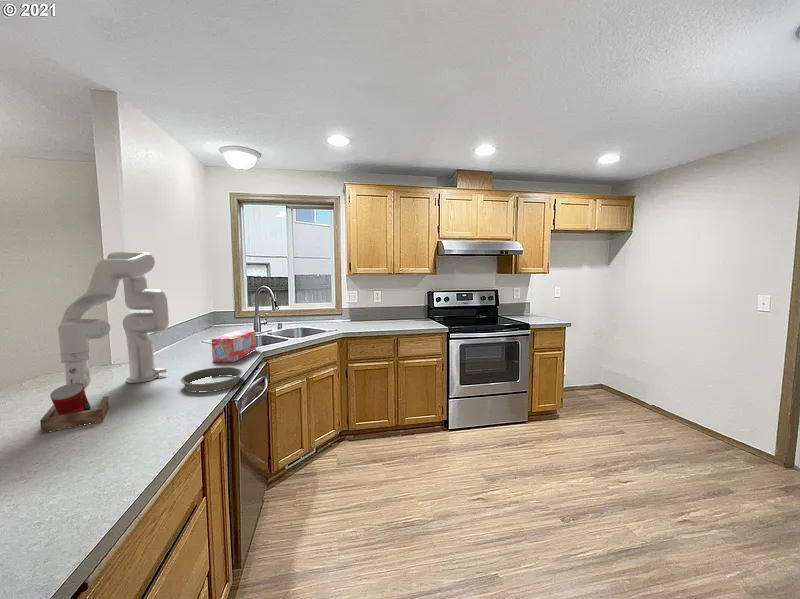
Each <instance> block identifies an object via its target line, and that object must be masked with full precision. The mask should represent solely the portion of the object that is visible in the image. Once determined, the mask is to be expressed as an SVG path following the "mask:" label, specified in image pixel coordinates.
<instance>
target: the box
mask: <svg viewBox="0 0 800 599" xmlns="http://www.w3.org/2000/svg"><path fill="white" fill-rule="evenodd" d="M256 339H257V338H256V330H253V329H252V330H248V329H247V330H243V329H242V330H240V329H237V330H234V331H230V332H228V333H225V334H223V335H220V336H217V337H215V338H211V350H212V351H211V352H212V355H211V356H212V358H211V359H212V362H214V363H235V362H237V361H239V360H241V359H243V358H244V356H245V355H247V354H248V353H250V352H251V351H253V350H256V351H257V342H256ZM247 356H248V355H247ZM242 357H243V358H242ZM245 357H246V356H245ZM240 358H241V359H240Z"/></svg>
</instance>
